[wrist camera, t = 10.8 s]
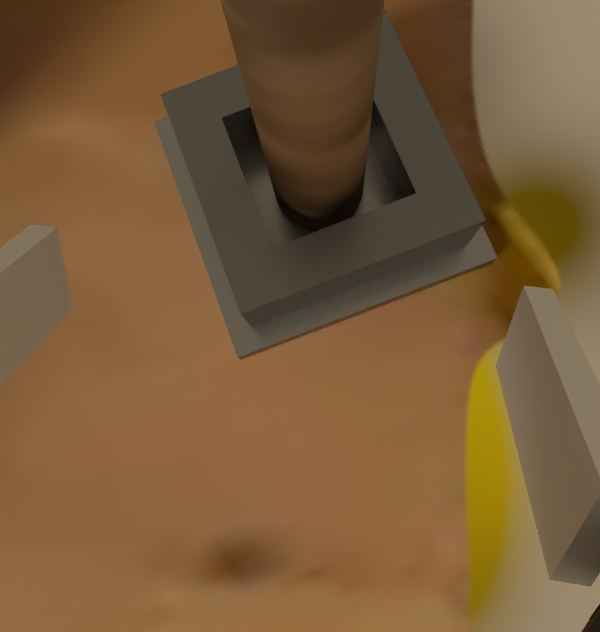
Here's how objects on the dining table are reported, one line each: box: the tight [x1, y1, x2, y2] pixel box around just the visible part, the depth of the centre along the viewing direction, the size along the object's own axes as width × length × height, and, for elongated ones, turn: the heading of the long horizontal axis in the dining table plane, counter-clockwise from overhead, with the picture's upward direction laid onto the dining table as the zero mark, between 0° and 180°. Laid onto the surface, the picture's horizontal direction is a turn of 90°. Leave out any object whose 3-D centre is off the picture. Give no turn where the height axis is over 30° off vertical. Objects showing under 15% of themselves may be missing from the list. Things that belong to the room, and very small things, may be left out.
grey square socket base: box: [155, 10, 498, 359], centre depth 23 cm, size 12×12×4 cm
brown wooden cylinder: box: [221, 0, 384, 230], centre depth 17 cm, size 4×4×14 cm
